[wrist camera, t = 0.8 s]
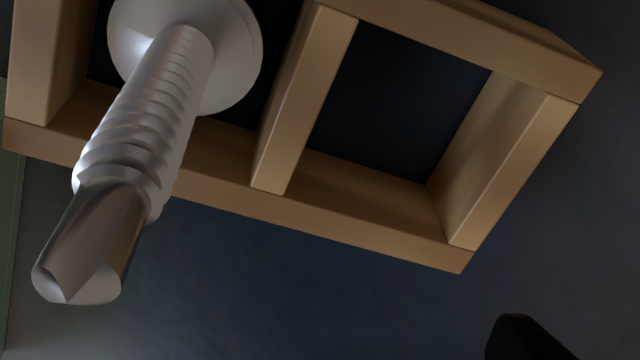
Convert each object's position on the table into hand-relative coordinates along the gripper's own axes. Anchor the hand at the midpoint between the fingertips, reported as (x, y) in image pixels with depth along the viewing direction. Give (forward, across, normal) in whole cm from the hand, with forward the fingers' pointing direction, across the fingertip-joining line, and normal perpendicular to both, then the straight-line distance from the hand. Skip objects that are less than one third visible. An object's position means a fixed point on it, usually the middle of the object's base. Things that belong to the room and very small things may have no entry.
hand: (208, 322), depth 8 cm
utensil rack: (+13, -2, +1) cm, 13 cm away
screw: (+13, +2, 0) cm, 13 cm away
